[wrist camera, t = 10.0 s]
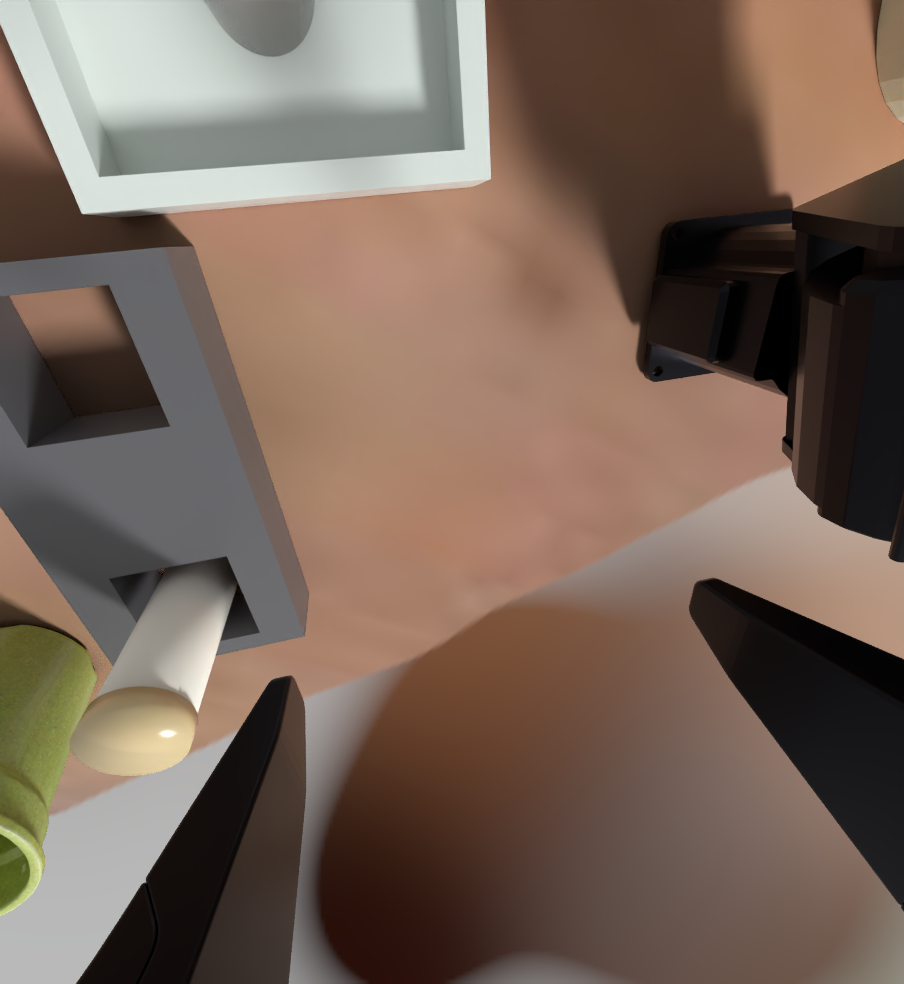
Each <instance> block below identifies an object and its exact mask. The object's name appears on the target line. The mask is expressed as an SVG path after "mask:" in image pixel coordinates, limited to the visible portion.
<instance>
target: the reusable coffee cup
mask: <svg viewBox="0 0 904 984" xmlns="http://www.w3.org/2000/svg"><path fill="white" fill-rule="evenodd" d="M876 61H877V70H878V78H879V84H880V87H881V90H882V93H883V96H884V99H885V102H886V104H887V105H888V107H889V108H890V110H891V111H892V113H893V114H894V116H895V117H896V118H897V119H898V120H900V121H901V122H902V123H904V0H882V5H881V10H880V16H879V22H878V28H877V48H876Z"/></svg>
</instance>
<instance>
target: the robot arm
mask: <svg viewBox="0 0 904 984" xmlns="http://www.w3.org/2000/svg"><path fill="white" fill-rule="evenodd" d="M791 222H792V223H791ZM675 230H677V231H678V235H677V238H676V240H675V241H673V233H674V231H675ZM646 339H647V347H646V355H645V363H644V370H643V371H644V376H645V378H647V379H649V380H651V381H653V382H658V381H664V380H671V379H677V378H683V377H690V376H696V375H702V374H709V373H715V372H716V373H719V374H722V375H725V376H728V377H731V378H734V379H737V380H739V381H742V382H745V383H748V384H751V385H754V386H757V387H759V388H762V389H765V390H768V391H771V392H774V393H777V394H780V395H782V396H785V397H788V400H787V420H786V436H784V437H783V439H782V451H783V453H784V454H785V455H786V456H787V457H788V458H789V459H790V460H791V461H792V472H793V475H794V479H795V482H796V486H797V487H798V488H799V489H800V490H801V491H802V492H803V493H804V494H805V495H806V496H807V497H808V498H809V499H810V500H811V501H812V502H813V503H814V504H815V505H817V506H818V508H817V512H818V514H819V515H820V516H821V517H823V518H825V519H827V520H829V521H831V522H833V523H835V524H837V525H839V526H841V527H843V528H845V529H848V530H851V531H854V532H857V533H860V534H863V535H866V536H869V537H872V538H875V539H879V540H884V541H889V542H891V546H890V551H889V555H888V556H889V558H890V559H892V560H894V561H897V562H904V159H903V160H901V161H899V162H896V163H894V164H892V165H890V166H888V167H885V168H883V169H881V170H879V171H876V172H874V173H872V174H870V175H867V176H865V177H863V178H861V179H859V180H856V181H854V182H852V183H850V184H847V185H845V186H843V187H841V188H838V189H836V190H834V191H832V192H829V193H827V194H825V195H823V196H821V197H818V198H816V199H814V200H812V201H809V202H807V203H805V204H803V205H800V206H798V207H796V208H794V209H785V210H775V211H766V212H756V213H747V214H737V215H728V216H718V217H709V218H699V219H690V220H680V221H673V222H670V223H669V224H667V225H666V226H665V228H664V229H663V231H662V235H661V240H660V248H659V255H658V263H657V271H656V278H655V281H654V283H653V291H652V299H651V306H650V314H649V322H648V330H647V337H646ZM657 366H658V370H657V372H656V373H655V374H653V371H654V369H655V368H656V367H657ZM689 611H690V615H691V617H692V619H693V621H694V622H695V624H696V626H697V627H698V629H699V630H700V632H701V634H702V635H703V637H704V639H705V640H706V642H707V644H708V645H709V647H710V648H711V650H712V652H713V653H714V655H715V656H716V658H717V660H718V661H719V663H720V665H721V666H722V668H723V669H724V671H725V672H726V674H727V675H728V677H729V678H730V680H731V681H732V683H733V684H734V685H735V687H736V688H737V690H738V691H739V692H740V694H741V695H742V696H743V697H744V699H745V700H746V702H747V703H748V704H749V706H750V707H751V708H752V709H753V711H754V712H755V713H756V715H757V716H758V717H759V719H760V720H761V721H762V723H763V724H764V725H765V727H766V728H767V729H768V731H769V732H770V733H771V735H772V736H773V737H774V739H775V740H776V741H777V742H778V744H779V745H780V747H781V748H782V749H783V751H784V752H785V753H786V755H787V756H788V757H789V759H790V760H791V761H792V763H793V764H794V765H795V767H796V768H797V769H798V771H799V772H800V773H801V775H802V776H803V777H804V778H805V780H806V781H807V783H808V784H809V785H810V787H811V788H812V789H813V791H814V792H815V793H816V795H817V796H818V797H819V798H820V800H821V801H822V803H823V804H824V805H825V807H826V808H827V809H828V810H829V812H830V813H831V814H832V816H833V817H834V819H835V820H836V821H837V823H838V824H839V825H840V827H841V828H842V829H843V831H844V832H845V833H846V835H847V836H848V837H849V839H850V840H851V841H852V843H853V844H854V845H855V847H856V848H857V849H858V850H859V852H860V853H861V855H862V856H863V857H864V858H865V860H866V861H867V862H868V864H869V865H870V866H871V868H872V869H873V871H874V872H875V873H876V875H877V876H878V877H879V879H880V880H881V881H882V882H883V884H884V885H885V886H886V888H887V889H888V891H889V892H890V893H891V895H892V896H893V897H894V899H895V900H896V901H897V902H898V904H900V905H901V908H902V910H903V911H904V659H902V658H900V657H897V656H895V655H893V654H890V653H888V652H885V651H883V650H881V649H879V648H876V647H874V646H872V645H869V644H867V643H865V642H862V641H860V640H858V639H856V638H853V637H851V636H849V635H846V634H844V633H842V632H839V631H837V630H835V629H832V628H830V627H828V626H826V625H823V624H821V623H818V622H816V621H814V620H812V619H809V618H807V617H805V616H802V615H800V614H798V613H795V612H793V611H791V610H788V609H786V608H784V607H781V606H779V605H777V604H775V603H772V602H770V601H768V600H765V599H763V598H761V597H758V596H756V595H754V594H751V593H749V592H747V591H745V590H742V589H740V588H738V587H735V586H733V585H730V584H728V583H726V582H723V581H721V580H719V579H716V578H709V579H704V580H700V581H697V582H696V583H695V585H694V588H693V593H692V597H691V601H690V605H689ZM305 738H306V737H305V706H304V701H303V698H302V696H301V693H300V691H299V688H298V686H297V683H296V681H295V679H294V677H293V676H285V677H280V678H276V679H273V680H271V681H270V682H269V684H268V685H267V687H266V688H265V690H264V692H263V693H262V695H261V696H260V698H259V699H258V701H257V703H256V704H255V706H254V707H253V709H252V711H251V712H250V714H249V715H248V717H247V718H246V720H245V722H244V723H243V725H242V726H241V728H240V730H239V731H238V733H237V734H236V736H235V738H234V739H233V741H232V742H231V744H230V745H229V747H228V749H227V750H226V752H225V753H224V755H223V757H222V758H221V760H220V761H219V763H218V764H217V766H216V768H215V769H214V771H213V772H212V774H211V776H210V777H209V779H208V780H207V782H206V783H205V785H204V787H203V788H202V790H201V791H200V793H199V795H198V796H197V798H196V799H195V801H194V802H193V804H192V806H191V807H190V809H189V810H188V812H187V814H186V815H185V817H184V818H183V820H182V822H181V823H180V825H179V827H178V828H177V829H176V831H175V833H174V834H173V836H172V837H171V839H170V841H169V842H168V844H167V845H166V847H165V849H164V850H163V852H162V853H161V855H160V856H159V858H158V860H157V861H156V863H155V864H154V866H153V867H152V869H151V871H150V872H149V874H148V875H147V877H146V883H143V884H142V885H141V886H140V888H139V889H138V891H137V892H136V894H135V896H134V897H133V899H132V900H131V902H130V904H129V905H128V907H127V908H126V910H125V911H124V913H123V915H122V916H121V918H120V919H119V921H118V922H117V924H116V925H115V927H114V928H113V930H112V931H111V933H110V935H109V936H108V937H107V939H106V941H105V942H104V944H103V945H102V947H101V948H100V950H99V951H98V953H97V954H96V956H95V957H94V959H93V960H92V962H91V963H90V965H89V966H88V967H87V969H86V970H85V972H84V973H83V974H82V976H81V977H80V979H79V980H78V982H77V983H76V984H288V982H289V973H290V962H291V952H292V941H293V930H294V919H295V908H296V898H297V886H298V876H299V865H300V854H301V843H302V833H303V822H304V811H305V799H306V739H305Z"/></svg>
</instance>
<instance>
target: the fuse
mask: <svg viewBox="0 0 904 984" xmlns="http://www.w3.org/2000/svg"><path fill="white" fill-rule="evenodd" d="M237 584H238V581H237V579H236V577H235V574H234V572H233V570H232V567H231V565H230V563H229V560H228V558H227V556H225V557H220V558H215V559H210V560H204V561H199V562H194V563H189V564H183V565H178V566H173V567H168V568H166V570H165V572H164V574H163V576H162V578H161V579H160V581H159V583H158V585H157V587H156V589H155V591H154V592H153V594H152V596H151V598H150V600H149V602H148V603H147V605H146V607H145V609H144V611H143V613H142V614H141V616H140V618H139V620H138V622H137V624H136V626H135V627H134V629H133V631H132V633H131V635H130V637H129V638H128V640H127V642H126V644H125V646H124V648H123V649H122V651H121V653H120V655H119V657H118V659H117V660H116V662H115V664H114V666H113V668H112V670H111V672H110V673H109V675H108V677H107V679H106V681H105V683H104V684H103V686H102V688H101V690H100V692H99V694H98V695H97V697H96V699H95V700H94V701H92V702H91V703H90V704H89V705H88V707H87V708H86V710H85V712H84V714H83V715H82V717H81V719H80V721H79V723H78V724H77V726H76V728H75V730H74V732H73V734H72V735H71V738H70V749H71V752H72V754H73V755H74V756H75V758H76V759H77V760H78V761H80V762H81V763H82V764H84V765H85V766H87V767H89V768H91V769H94V770H96V771H100V772H103V773H107V774H113V775H123V776H135V775H145V774H151V773H155V772H159V771H162V770H165V769H167V768H169V767H171V766H173V765H175V764H177V763H178V762H180V761H181V760H182V759H183V758H184V757H185V756H186V755H187V753H188V752H189V750H190V747H191V744H192V741H193V737H194V734H195V731H196V727H197V724H198V714H197V713H198V710H199V707H200V704H201V700H202V697H203V694H204V691H205V687H206V684H207V681H208V678H209V675H210V671H211V668H212V665H213V662H214V658H215V655H216V652H217V649H218V646H219V642H220V639H221V636H222V633H223V629H224V626H225V623H226V620H227V616H228V613H229V610H230V607H231V604H232V600H233V597H234V594H235V591H236V587H237Z"/></svg>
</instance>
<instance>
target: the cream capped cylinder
mask: <svg viewBox="0 0 904 984" xmlns="http://www.w3.org/2000/svg"><path fill="white" fill-rule="evenodd" d="M205 1H206V3H207V5H208V6H209V8H210V10H211V12H212V13H213V15H214V17H215V18H216V20H217V21H218V23H219V24H220V26H221V27H222V28H223V29H224V31H225V32H226V33H227V34H228V35H229V36H230V37H231V38H232V39H233V40H234V41H235V42H237V43H238V44H239V45H241V46H242V47H243V48H245V49H247V50H249V51H251V52H253V53H255V54H258V55H262V56H267V57H276V56H282V55H285V54H287V53H289V52H291V51H293V50H294V49H295V48H297V47H298V46H299V45H300V44H301V42H302V41H303V40H304V38H305V37H306V35H307V33H308V31H309V29H310V26H311V23H312V19H313V14H314V4H315V0H205Z"/></svg>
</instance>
